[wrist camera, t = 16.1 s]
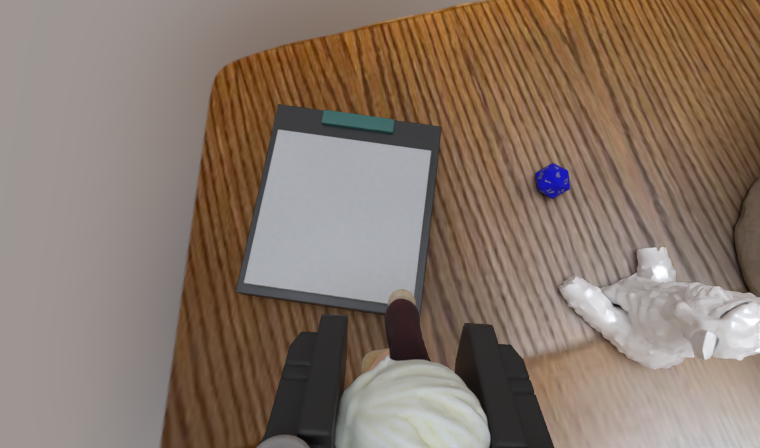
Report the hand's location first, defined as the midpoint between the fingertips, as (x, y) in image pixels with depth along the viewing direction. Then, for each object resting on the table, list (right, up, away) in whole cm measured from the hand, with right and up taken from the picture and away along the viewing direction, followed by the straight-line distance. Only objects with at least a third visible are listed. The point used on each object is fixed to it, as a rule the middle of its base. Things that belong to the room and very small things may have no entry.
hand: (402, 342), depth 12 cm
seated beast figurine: (+20, -4, +22) cm, 30 cm away
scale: (-4, +4, +23) cm, 24 cm away
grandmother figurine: (0, -4, +8) cm, 9 cm away
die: (+14, +7, +25) cm, 29 cm away
